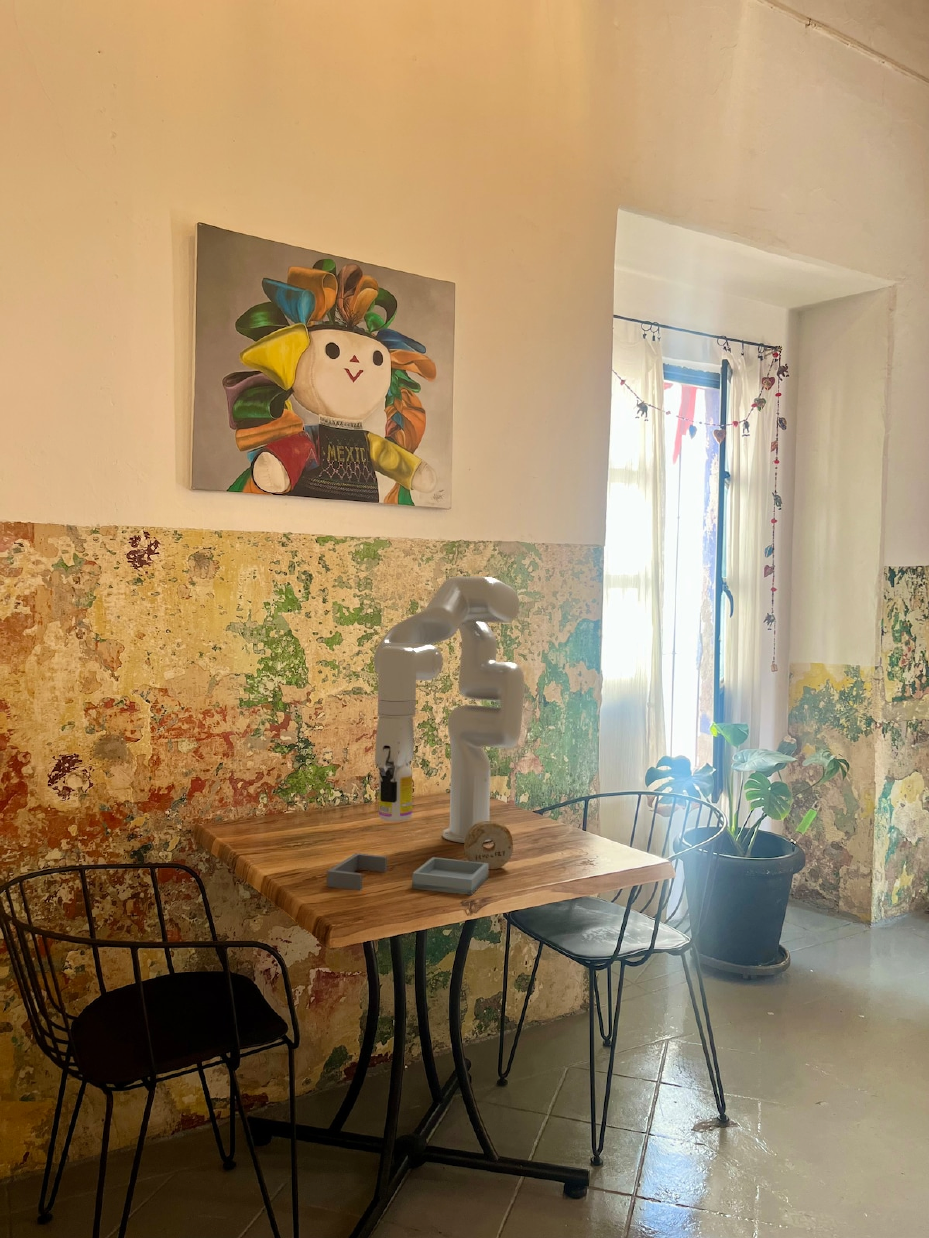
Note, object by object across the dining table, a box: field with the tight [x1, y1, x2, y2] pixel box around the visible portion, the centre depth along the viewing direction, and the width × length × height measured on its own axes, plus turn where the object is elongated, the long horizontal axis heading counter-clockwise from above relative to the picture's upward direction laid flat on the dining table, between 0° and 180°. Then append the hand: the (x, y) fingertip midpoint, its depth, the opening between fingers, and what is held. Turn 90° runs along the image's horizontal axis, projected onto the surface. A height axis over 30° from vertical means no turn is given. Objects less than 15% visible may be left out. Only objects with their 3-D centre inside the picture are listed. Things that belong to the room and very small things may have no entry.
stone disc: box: [463, 820, 514, 870], centre depth 194 cm, size 10×4×10 cm, turn 94°
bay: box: [326, 852, 388, 891], centre depth 184 cm, size 14×7×3 cm, turn 163°
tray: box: [411, 856, 489, 896], centre depth 183 cm, size 12×12×3 cm
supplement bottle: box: [378, 756, 413, 822], centre depth 183 cm, size 7×7×13 cm
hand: (395, 796), depth 183 cm, fingers closed on supplement bottle, 6 cm apart
